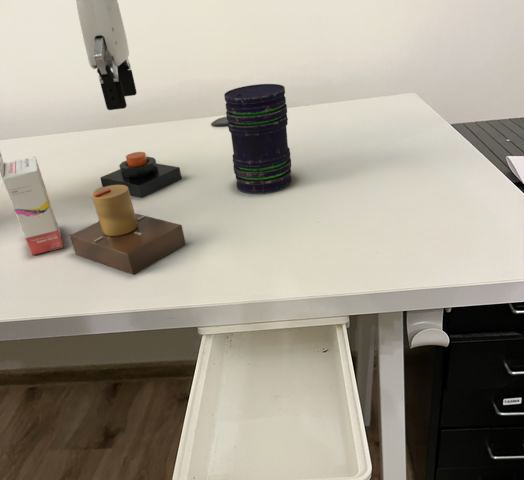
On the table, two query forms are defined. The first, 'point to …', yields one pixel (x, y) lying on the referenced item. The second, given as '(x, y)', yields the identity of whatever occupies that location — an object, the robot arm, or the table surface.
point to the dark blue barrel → (259, 137)
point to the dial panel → (129, 244)
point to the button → (136, 159)
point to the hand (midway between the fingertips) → (122, 101)
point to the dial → (115, 210)
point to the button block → (143, 177)
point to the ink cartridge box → (31, 204)
